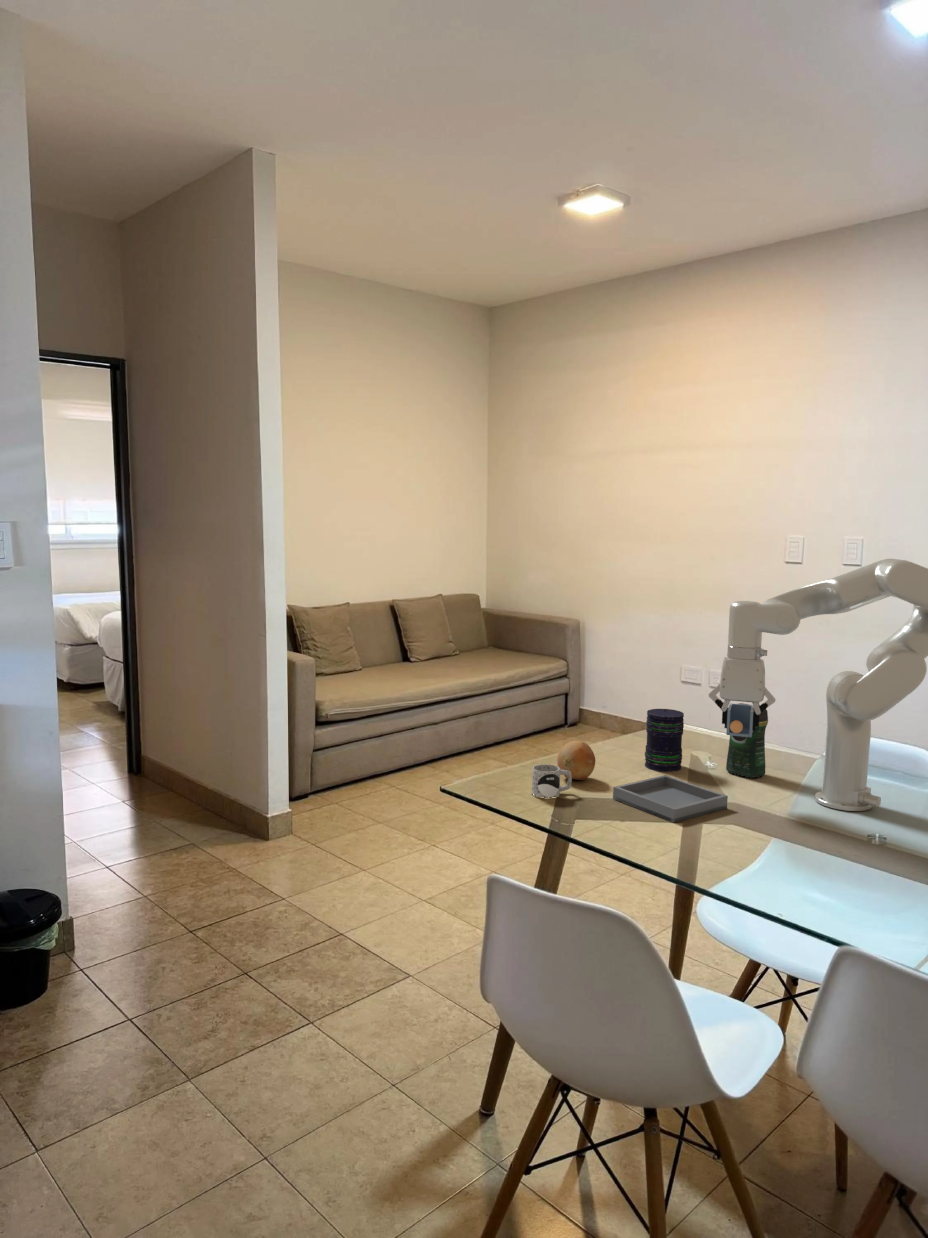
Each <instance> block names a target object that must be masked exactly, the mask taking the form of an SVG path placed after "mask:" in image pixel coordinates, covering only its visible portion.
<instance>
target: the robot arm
mask: <svg viewBox="0 0 928 1238" xmlns="http://www.w3.org/2000/svg"><path fill="white" fill-rule="evenodd" d="M889 597H892V598H893V597H894V598H896V599H899V600H901V601H904V602H907V603H909V604H911V605H913V608H912V612H911V613H912V614H911V615H910V618H909V619H908V621H906V623H904V624H903V626H901V627H900V628H899V629H897V630H896V632H894V633H893V634H892V635H890V636H889V637H888V638H887V639H885V640H883V642H882V643H880V644H879V645H878V646H876V647H875V648H874V649H873V650H872V651H871V652H870V653H869V654H868V656H867V658H866V662H865V663H866V664H865V665H866V668H867V670H868V671H867V672H866V674H864V675H863V674H862V673H859V672H856V671H853V670H852V671H850V670H849V671H848V670H846V671H841V672H839V673H837V674H835V675H834V676H833V677H831V679H830V681H829V682H828V685H827V687H826V694H825V695H826V696H825V697H826V698H825V700H826V701H825V702H826V736H825V748H824V749H825V752H824V764H823V780H822V790H820V791H817V792H816V793H815V795H814V800H815V801H816V802H817V803H819V804H820V805H821V806H824V807H827V808H831V809H833V810H834V809H835V810H839V811H847V812H863V811H864V812H865V811H868V810H871V809H872V808H873V807H875V808H879V807H880V806H881V802H882V797H881V796H878V795H873V794H872V793H871V792H872V788H871V787H868V786H867V784H868V773H869V761H870V760H869V759H870V747H871V746H870V745H871V738H872V737H871V736H872V733H871V732H872V731H871V730H872V727H871V726H872V724H871V721H873V720H876V719H878V718H879V717H881V716H883V715H884V714H886V713H888V712H889V710H891V709H892V708H893V707H895V706H896V705H898V704H899V703H900V702H901V701H903V700H904V699H905V698H907V697H908V696H909V695H910V694H912V693H913V692H914V691H915V690H916V689H918V688H919V686H920V685H921V684H922V683H923V681H924V679H925V678H926V676H927V675H926V674H927V669H928V668H927V662H926V658H927V657H928V567H924V566H923V565H919V564H917V563H914V562H912V561H908V560H905V559H897V558H885V559H881V560H878V561H875V562H872V563H870V564H868V565H865V566H862V567H859V568H857V569H854V570H851V571H849V572H846V573H843V574H840V575H838V576H835V577H832V578H827V579H826V580H825V579H824V580H822V581H818V582H815V583H812V584H809V585H806V586H802V587H799V588H796V589H792V590H789V591H787V592H783V593H781V594H778V595H776V596H773V597H770V598H768V599H766V600H765V601H763V602H762V603H760V602H756V601H750V600H738V601H736V600H735V601H733V602H732V603H731V604H730V605H729V606H730V607H729V611H728V612H729V616H728V636H727V651H726V652H727V656H725V657H724V659H723V660H722V665H721V671H720V672H721V674H720V679H719V680H720V682H719V684H717V686H715V688H713V689H712V690H711V691H710V692H709V693H708V697H709V698H710V699H711V700H712V702H713V703H715V705H716V706H717V707H718V708H719V709H720V710H721V712H722V713H721V717H722V718H721V724H722V725H724V729H727V713H728V707H729V704H730V703H731V702H741V703H742V702H743V703H744V702H745V703H752V704H751V705H753V707H754V714H753V729H752V730H753V731H755V729H756V727H759V714H760V713H761V712H763V711H764V710H765V709H766V710H767V708H768V707H770V706H771V705H773V704H775V702H776V697H774V695H773V694H772V693H771V692H770V690H768V689H767V687H766V669H765V661H764V659H762V657H764V656H765V657H767V656H768V649H767V650H766V649H764V648H762V639H763V637H762V636H763V633H767V634H773V635H779V636H781V635H782V636H783V635H784V636H785V635H786V636H787V635H788V634H791V633H794V632H795V631H796V630H797V629H798V628H799V626H800V624H801V620H804V619H806V618H810V617H815V616H821V615H838V614H844V613H847V612H850V611H854V610H856V609H858V608H862V607H864V606H867V605H869V604H873V603H875V602H879V601H880V600H884V599H887V598H889ZM718 694H719V697H718V696H717V695H718ZM765 697H766V699H767V700H765V701H764V699H765ZM720 698H721V699H720ZM723 700H724V701H723ZM763 701H764V702H763ZM761 702H763V703H761ZM760 703H761V704H760Z"/></svg>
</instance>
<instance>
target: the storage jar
mask: <svg viewBox="0 0 928 1238" xmlns="http://www.w3.org/2000/svg"><path fill="white" fill-rule="evenodd" d="M684 717H685V714H684V712H682V711H680V710H676V709H672V708H671V709H669V708H652V709H648V710H647V711H646V721H645V722H646V723H645V724H646V728H645V729H646V745H645V751H644V761H645V763H644V767H645V768H646V769H648V770H651V771H655V772H659V773H660V772H661V773H674V772H679V771H681V769H682V760H683V748H682V743H683V741H682V739H683V735H684V726H685V725H684V724H685V723H684Z"/></svg>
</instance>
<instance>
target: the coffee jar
mask: <svg viewBox="0 0 928 1238" xmlns="http://www.w3.org/2000/svg"><path fill="white" fill-rule="evenodd" d="M738 704H744V705H750V704H748V703H744V702H743V703H742V702H741V703H738ZM768 723H769V715H768V710H767V708H766V709H765V710H764V711H763V712H761V713H760V714H759V727H756V729H755V731H753V733H752V737H742V736H732V735H729V741H728V749H727V755H726V756H727V758H726V766H725V770H726V771H727V772H728V773H731V774H733V773H734V774H733V775H736V774H737V775H736V776H739V775H741V776H740V777H743V776H745V777H744V778H749V777H750V778H756V777H758V778H761V777H763V776H764V775H765V774H766V750H765V748H766V747H765V746H766V743H765V738H766V737H765V736H766V735H765V734H766V728H767V726H768ZM762 775H763V776H762ZM760 776H761V777H760Z"/></svg>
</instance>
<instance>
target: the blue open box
mask: <svg viewBox="0 0 928 1238" xmlns="http://www.w3.org/2000/svg"><path fill="white" fill-rule="evenodd" d="M744 704H745V703H743V704H739V703H731V702H730V703H729V705H728V713H727V728H726V736H730V735H732V736H742V737H752V733H753V730H752V729H753V714H754V707H753V704H749V705H744ZM735 720H737V721H740V722H741V723H742V724H743V730H742V731H741V732H740V733H734V732H732V731H731V730H730V724H731V722H732V721H735Z"/></svg>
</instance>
